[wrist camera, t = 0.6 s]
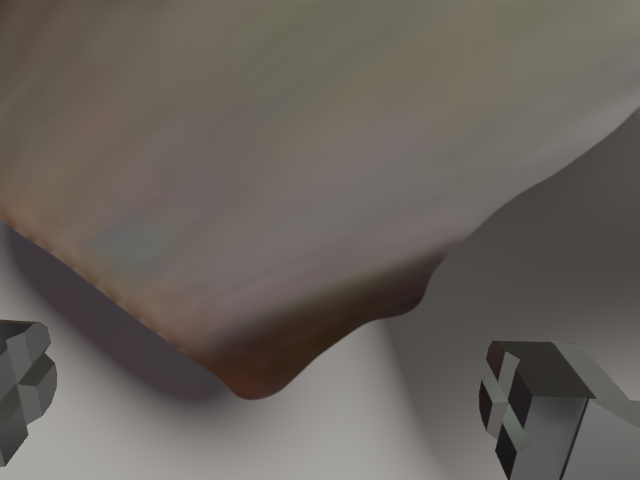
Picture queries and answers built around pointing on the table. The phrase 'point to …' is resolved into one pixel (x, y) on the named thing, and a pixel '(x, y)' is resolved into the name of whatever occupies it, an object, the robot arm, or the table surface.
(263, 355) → the table surface
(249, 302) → the table surface
